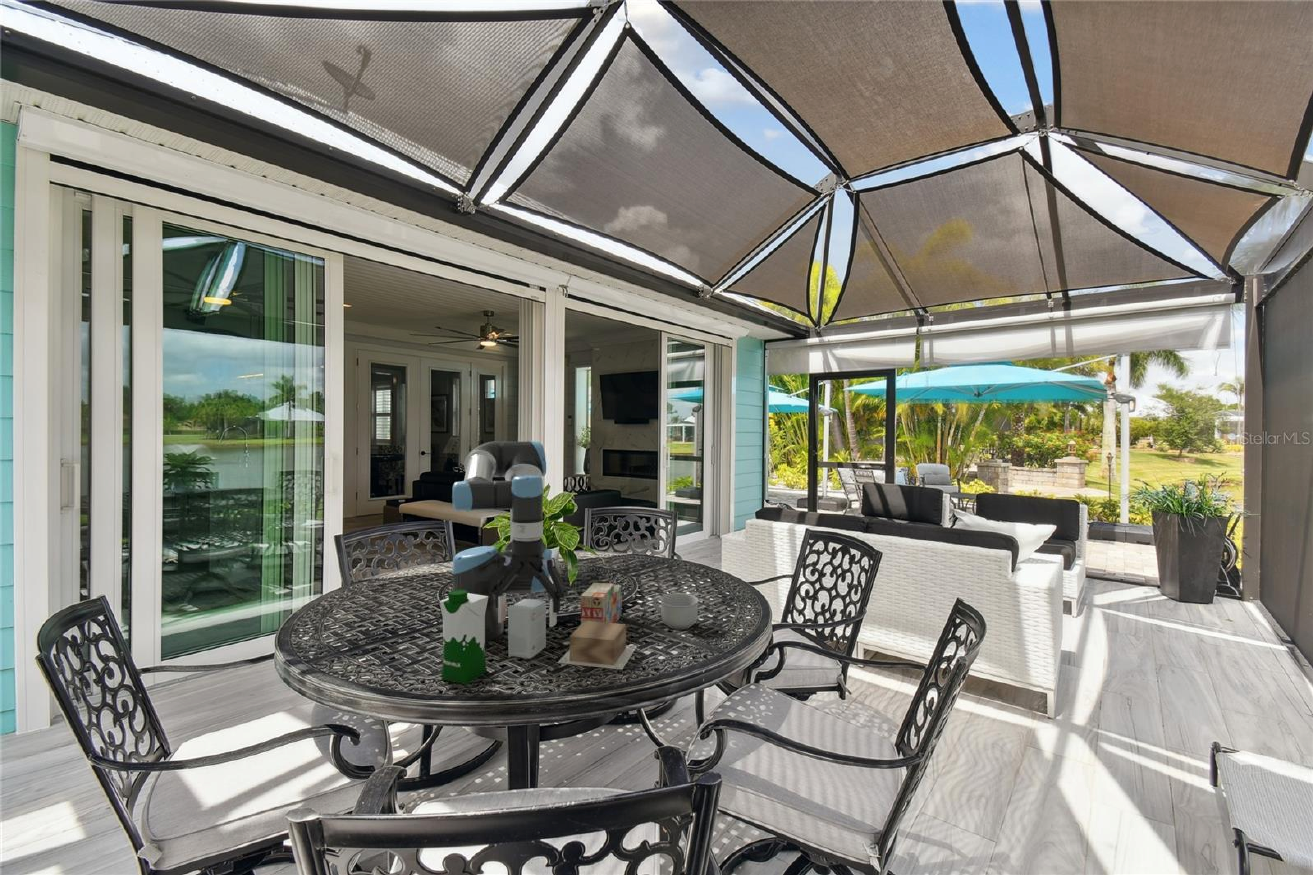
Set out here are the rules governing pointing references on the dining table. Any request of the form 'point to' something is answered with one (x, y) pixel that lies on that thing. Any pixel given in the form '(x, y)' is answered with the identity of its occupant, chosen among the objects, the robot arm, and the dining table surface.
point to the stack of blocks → (601, 603)
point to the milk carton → (463, 636)
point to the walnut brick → (598, 642)
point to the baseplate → (617, 665)
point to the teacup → (678, 610)
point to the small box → (526, 628)
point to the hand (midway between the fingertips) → (527, 623)
